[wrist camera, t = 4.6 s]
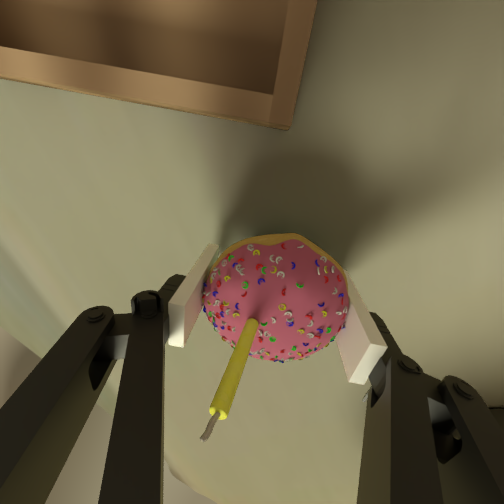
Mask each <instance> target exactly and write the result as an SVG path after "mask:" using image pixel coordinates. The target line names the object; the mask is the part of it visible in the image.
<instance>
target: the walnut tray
mask: <svg viewBox="0 0 504 504" xmlns="http://www.w3.org/2000/svg"><path fill="white" fill-rule="evenodd" d="M317 1H318V0H0V78H1V79H7V80H12V81H18V82H23V83H29V84H34V85H40V86H45V87H51V88H56V89H62V90H67V91H73V92H78V93H84V94H89V95H95V96H100V97H106V98H111V99H117V100H122V101H128V102H133V103H139V104H144V105H150V106H155V107H161V108H166V109H172V110H177V111H183V112H188V113H194V114H199V115H205V116H210V117H216V118H221V119H227V120H232V121H238V122H244V123H249V124H255V125H260V126H266V127H271V128H277V129H282V130H288V129H289V128H290V127H291V124H292V119H293V114H294V110H295V105H296V100H297V95H298V91H299V86H300V81H301V76H302V72H303V67H304V62H305V58H306V53H307V48H308V43H309V39H310V34H311V29H312V25H313V20H314V15H315V10H316V6H317Z"/></svg>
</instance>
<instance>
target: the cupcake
mask: <svg viewBox="0 0 504 504" xmlns="http://www.w3.org/2000/svg"><path fill="white" fill-rule="evenodd" d="M203 284H204V290H203V293H202V294H203V296H202V298H203V300H202V302H203V303H202V304H201V306H203V305H204V308H203V311H204V312H205V313H206V317H207V320H208V321H210V322H211V323H212V326H214V330H215V331H216V332H218V333H219V334H220V335H221V336H222V340H223V341H227V342H228V343H229V344H230V345H231V347H232V348H234V351H233V354H232V356H231V359H230V361H229V363H228V366H227V368H226V370H225V373H224V375H223V377H222V380H221V382H220V384H219V387H218V389H217V392H216V394H215V396H214V399H213V401H212V403H211V406H210V409H209V411H210V413H211V415H212V418H211V419H210V421H209V423H208V425H207V428H206V430H205V432H204V433H203V435H202V436H201V437H200V440H201V441H202V442H205V441H206V440H207V439H208V438H209V436H210V435H211V433H212V430H213V427H214V425H215V423H216V421H217V420H218V419H220V420H223V419H226V418H227V416H228V413H229V410H230V407H231V405H232V402H233V399H234V396H235V393H236V390H237V387H238V384H239V381H240V378H241V375H242V372H243V369H244V367H245V364H246V361H247V358H248V355H249V356H251V357H254V358H258V359H262V360H272V361H274V362H275V361H279V362H282V363H284V361H290V360H297V359H298V360H302V359H303V358H304V357H306V358H309V355H311V354H313V353H315V352H317V351H319V350H320V349H323V347H327V346H328V345H329V342H332V341H334V338H335V337H336V336H337V334H338V332H339V331H340V330H341V329H343V328H345V327H342V326H343V324H344V321H345V319H346V316H347V313H348V309H349V298H348V283H347V278H346V275H345V272H344V270H343V269H342V267H341V266H340V265H339V264H338V263H337V262H336V261H335V260H334V259H333V258H332V257H331V256H330V255H328V254H327V253H326V252H325V251H323V250H322V249H321V248H319V247H318V246H317V245H315V244H314V243H312V242H311V241H309V240H308V239H306V238H305V237H303V236H301V235H299V234H296V233H284V234H269V235H261V236H255V237H250V238H247V239H244V240H241V241H239V242H237V243H235V244H233V245H231V246H230V247H228V248H227V249H226V250H225V251H224V252H223V253H222V254H221V255H220V257H219V258H218V259H217V261H216V262H215V263H214V265H213V266H212V268H211V270H210V272H209V275H208V277H207V279H206V282H205V283H203ZM205 310H206V311H205ZM223 338H224V339H223Z"/></svg>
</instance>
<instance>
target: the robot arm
mask: <svg viewBox="0 0 504 504" xmlns="http://www.w3.org/2000/svg"><path fill="white" fill-rule="evenodd" d="M218 254H219V245H214V244H208V246H207V247H206V249H205V250H204V252H203V253H202V254H201V256H200V257H199V259H198V260H197V262H196V263H195V265H194V266H193V268H192V269H191V270H190V272H189V273H188V275H187V276H183V275H178V274H175V275H174V276H172V277H170V278H169V279H168V280H167V281H166V282H165V284H164V285H163V286H162V287H161V289H160V290H159V291H158V292H157V291H153V290H147V291H142V292H140V293H137V294H136V295H135V296H133V298H132V299H131V307H132V313H128V314H114V313H113V310H112V309H111V308H110V307H107V306H96V307H92V308H89V309H87V310H85V311H83V312H82V313H81V314H80V315H79V316H78V317H77V318H76V320H75V321H74V322H73V323H72V324H71V325H70V327H69V328H68V329H67V330H66V331H65V333H64V334H63V335H62V336H61V337H60V339H59V340H58V341H57V342H56V343H55V345H54V346H53V347H52V348H51V349H50V350H49V352H48V353H47V354H46V355H45V356H44V358H43V359H42V360H41V361H40V362H39V364H38V365H37V366H36V367H35V368H34V370H33V371H32V372H31V373H30V374H29V375H28V377H27V378H26V379H25V380H24V381H23V383H22V384H21V385H20V386H19V387H18V389H17V390H16V391H15V392H14V393H13V395H12V396H11V397H10V398H9V399H8V400H7V402H6V403H5V404H4V405H3V406H2V408H1V409H0V504H45V502H46V500H47V498H48V496H49V494H50V492H51V490H52V488H53V486H54V484H55V482H56V480H57V478H58V476H59V474H60V472H61V470H62V468H63V466H64V464H65V462H66V460H67V458H68V456H69V454H70V452H71V450H72V448H73V447H74V445H75V443H76V441H77V439H78V436H79V435H80V433H81V431H82V429H83V427H84V425H85V423H86V421H87V419H88V417H89V415H90V412H91V411H92V409H93V407H94V405H95V403H96V401H97V399H98V397H99V395H100V393H101V391H102V389H103V387H104V385H105V383H106V381H107V379H108V377H109V375H110V373H111V371H112V369H113V367H114V365H115V363H116V361H117V359H124V364H123V369H122V375H121V380H120V386H119V391H118V397H117V402H116V408H115V413H114V419H113V425H112V430H111V436H110V441H109V446H108V452H107V458H106V463H105V469H104V474H103V480H102V485H101V490H100V496H99V501H98V504H163V462H164V372H165V343H166V341H167V340H168V338H169V345H173V346H177V347H182V348H184V345H185V343H186V341H187V339H188V337H189V335H190V332H191V330H192V328H193V326H194V324H195V322H196V320H197V317H198V315H199V313H200V311H201V309H202V307H203V306H201V304H202V303H203V302H202V300H203V298H202V296H203V294H202V293H203V290H204V284H203V283H205V282H206V279H207V277H208V275H209V272H210V270H211V268H212V266H213V265H214V263H215V262H216V261H217V259H218ZM344 272H345V275H346V278H347V283H348V298H349V309H348V313H347V316H346V319H345V321H344V324H343V326H342V327H345V328H343V329H341V330H340V331H339V332H338V334H337V336H336V337H335V338H336V341H337V344H338V348H339V351H340V355H341V358H342V361H343V365H344V368H345V372H346V375H347V378H348V382H352V383H357V384H362V385H364V384H365V382H366V381H367V379H368V377H369V379H370V382H371V385H372V386H371V387H370V389H369V390H368V392H367V393H366V395H365V396H364V398H363V400H362V401H363V402H365V401H366V400H367V399H368V400H367V409H366V419H365V429H364V438H363V448H362V457H361V467H360V477H359V486H358V496H357V504H504V409H489V408H488V407H487V405H486V404H485V402H484V401H483V399H482V397H481V396H480V395H479V394H478V392H477V391H476V390H475V389H474V388H473V387H472V386H470V385H469V384H468V383H466V382H465V381H463V380H462V379H459V378H457V377H455V376H450V375H449V376H445V377H444V379H443V380H442V381H440V380H438V379H436V378H434V377H431V376H429V375H427V374H425V373H423V370H422V369H421V367H420V366H419V365H418V364H417V363H416V362H415V361H414V360H413V359H411V358H409V357H408V356H406V355H403V354H402V352H401V350H400V348H399V347H398V345H397V343H396V342H395V340H394V338H393V337H392V335H391V334H390V331H389V330H388V328H387V326H386V325H385V323H384V321H383V320H382V319H381V318H380V317H379V316H378V315H377V314H376V313H373V312H369V311H368V309H367V307H366V305H365V304H364V302H363V300H362V298H361V296H360V294H359V292H358V291H357V289H356V287H355V285H354V283H353V281H352V279H351V277H350V276H349V274H348V272H347V270H344Z"/></svg>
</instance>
